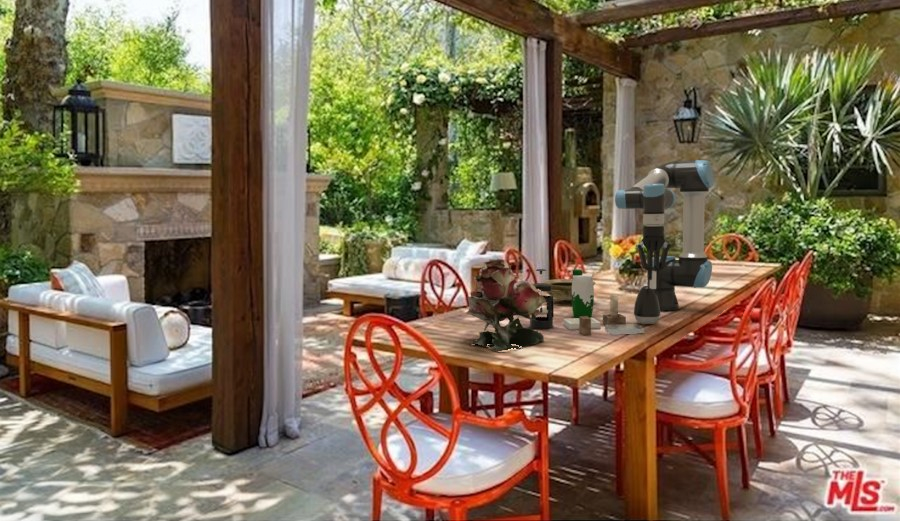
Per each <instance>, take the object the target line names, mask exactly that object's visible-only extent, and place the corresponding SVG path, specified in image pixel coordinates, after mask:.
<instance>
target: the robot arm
mask: <svg viewBox="0 0 900 521" xmlns="http://www.w3.org/2000/svg"><path fill="white" fill-rule="evenodd" d="M714 177H715V176H714V170H713V167H712V164H711V163H710V162H709V160H705V159H704V160H703V159H695V160H694V159H693V160H673V161H669V162H665V163H662V164H660V165H658V166H656V167H654V168H652V169H651V170H650V171H648V173H647V176H645V177H644V178H643V179H641V180H640V181H638V182H637V183H635V184H634V185H632V186H631V187H630V188H628V189H624V188H623V189H618V190H617V191H616V192H615V195H614V203H615V207H616V208H618V209H620V210H621V209H622V210H623V209H624V210H630V209H631V210H632V209H633V210H636V209H639V210H641V209H643V211H642V213H643V215H642V221H643V222H642V225H643V227H642V238H641V239H642V240H641V242H640V243H638V244H635V248H636V249H637V251H638V254H639V259H640V263H641V268H642V270H645V271H646V272H647V278H646V280H647V282H646V283H647V284H646V286H650V288H651V289H654V291H655V293H656V295H657V298H658V302H659V306H660V312H666V311H665V310H674V309H678V308H680V307H679V306H680V305H679V304H680V303H679V301H678V298H677V295H676V289H675V288H676V287H683V288H685V287H686V288H694V289H695V288H696V289H697V288H706V287H707V285H708V284H709V283H710V280H711V278H712V273H713V264H712V261H711V260H708V255H707V254H706V253H705V251H704V250H705V209H706V208H705V202H706V199H705V198H706V195H707V194H709V192H710V190H709V189H711V188H712V187H713V186H714V182H715V178H714ZM671 189H679V194H681V195H682V197H683V202H682V206H683V211H682V223H683V224H682V252H681V253H680V254H679V255H678V259H676V256H675V255H668V253H669V250H670V248H671V246H672V244H671V243H668V242H667V241H666V239H665V226H664V224H665V210H667V209H670V208H671V207H673V206H674V205H675V204H676V202H677V196H676V194H675V192H674V191H673V190H671ZM644 248H645V249H646V254H645V251H644ZM661 248H662V251H661ZM660 253H661V255H660ZM678 310H679V309H678ZM674 311H675V310H674Z"/></svg>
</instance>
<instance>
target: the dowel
mask: <svg viewBox="0 0 900 521" xmlns="http://www.w3.org/2000/svg"><path fill="white" fill-rule="evenodd" d="M609 301H610V302H609V311H610V312H609V314H610V317H618V314H619V295H617V294H610V296H609Z"/></svg>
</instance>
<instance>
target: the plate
mask: <svg viewBox="0 0 900 521" xmlns="http://www.w3.org/2000/svg"><path fill="white" fill-rule="evenodd" d="M605 330H606V333H608V332H609V334H610V333H611V334H612V336H621V335H620V334H629V335H638V334H637V333H644V334H645V328H644V327H642V326H641V325H638V323H637V324H636V323H626V324H618V325H604V331H605ZM611 334H610V335H611Z"/></svg>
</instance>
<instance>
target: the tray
mask: <svg viewBox="0 0 900 521" xmlns="http://www.w3.org/2000/svg"><path fill="white" fill-rule="evenodd" d="M562 321H563V323H562V324H563V326H564V327H565V328H567V329H568V330H569V331H579V318H574V317H573V318H563V320H562ZM591 330H601V321H599V320H597V319H596V318H594V317H591Z"/></svg>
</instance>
